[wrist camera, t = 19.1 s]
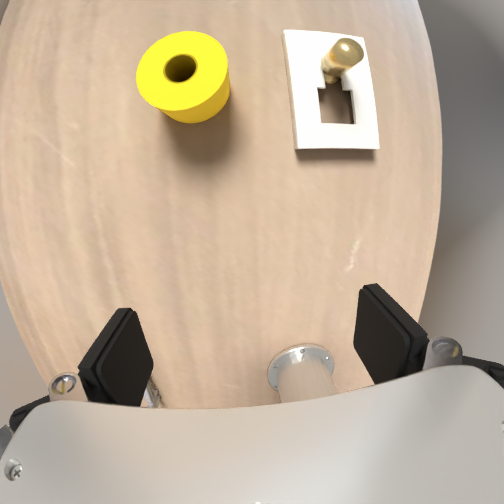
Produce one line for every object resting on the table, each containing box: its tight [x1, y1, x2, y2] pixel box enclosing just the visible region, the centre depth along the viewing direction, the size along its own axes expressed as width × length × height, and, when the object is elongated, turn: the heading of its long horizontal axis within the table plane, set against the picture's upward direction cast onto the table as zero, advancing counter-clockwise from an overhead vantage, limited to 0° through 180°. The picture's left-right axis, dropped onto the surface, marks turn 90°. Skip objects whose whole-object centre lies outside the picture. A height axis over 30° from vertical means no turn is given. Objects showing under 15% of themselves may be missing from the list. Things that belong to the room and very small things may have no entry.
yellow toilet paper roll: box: [136, 31, 230, 123], centre depth 27 cm, size 10×10×9 cm
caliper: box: [144, 379, 161, 408], centre depth 42 cm, size 20×1×6 cm, turn 6°
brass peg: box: [321, 38, 364, 84], centre depth 27 cm, size 4×4×9 cm
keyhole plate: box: [282, 30, 379, 149], centre depth 31 cm, size 18×12×2 cm, turn 5°
